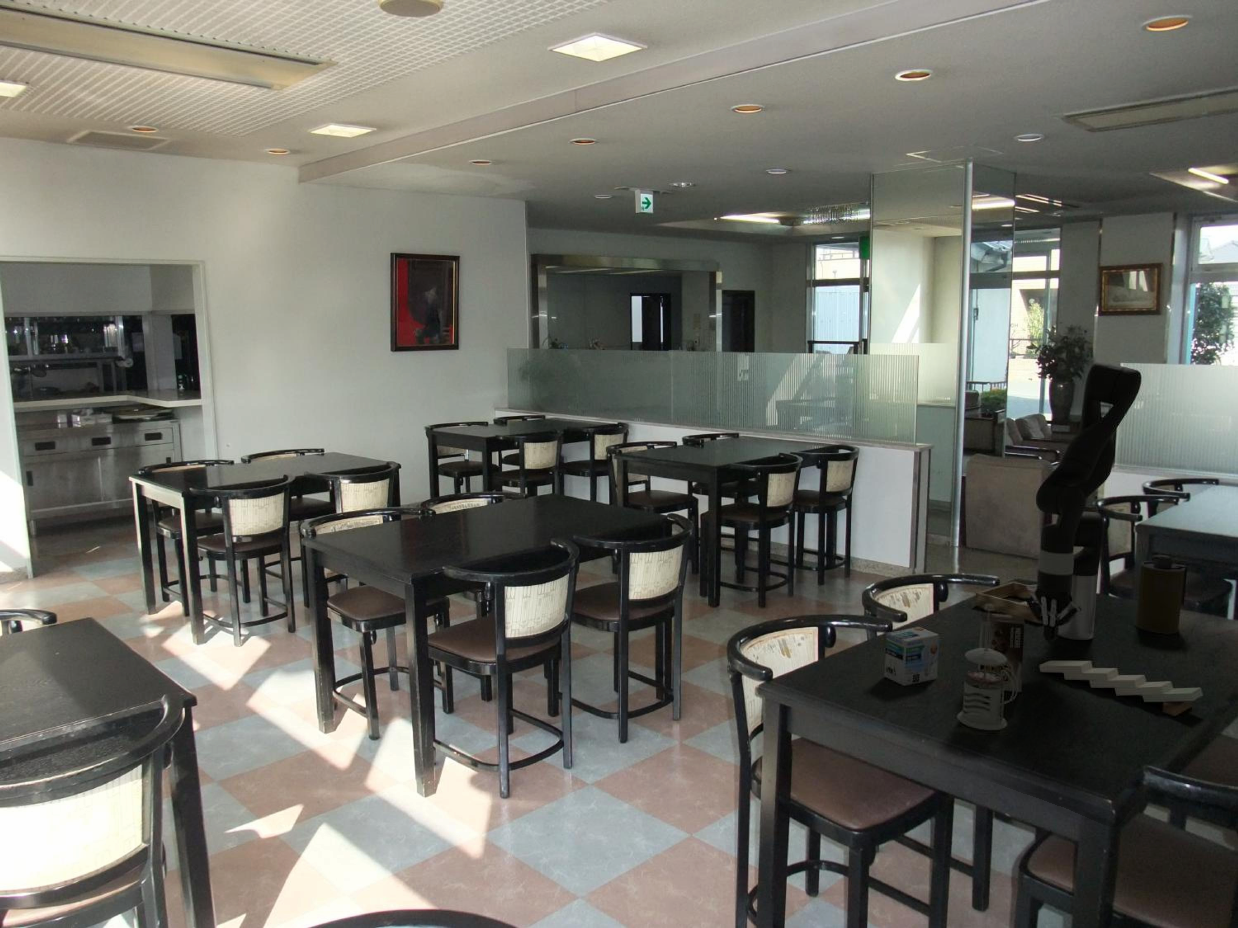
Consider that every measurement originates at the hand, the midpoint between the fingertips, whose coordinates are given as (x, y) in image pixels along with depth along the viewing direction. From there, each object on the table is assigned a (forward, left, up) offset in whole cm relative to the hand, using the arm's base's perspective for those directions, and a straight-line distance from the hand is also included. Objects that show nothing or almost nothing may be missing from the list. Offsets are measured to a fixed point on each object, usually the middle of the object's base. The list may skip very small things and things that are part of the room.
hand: (1050, 639), depth 220 cm
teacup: (-26, +45, -8) cm, 53 cm away
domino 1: (-1, 0, -7) cm, 7 cm away
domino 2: (+5, 0, -7) cm, 8 cm away
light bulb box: (-17, -30, -8) cm, 35 cm away
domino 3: (+11, 0, -7) cm, 13 cm away
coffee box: (-2, -18, -8) cm, 20 cm away
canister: (+2, +54, -8) cm, 55 cm away
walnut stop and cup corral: (-5, +24, -7) cm, 26 cm away
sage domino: (+23, 0, -6) cm, 23 cm away
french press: (+7, -38, -8) cm, 39 cm away
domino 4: (+17, 0, -7) cm, 18 cm away
